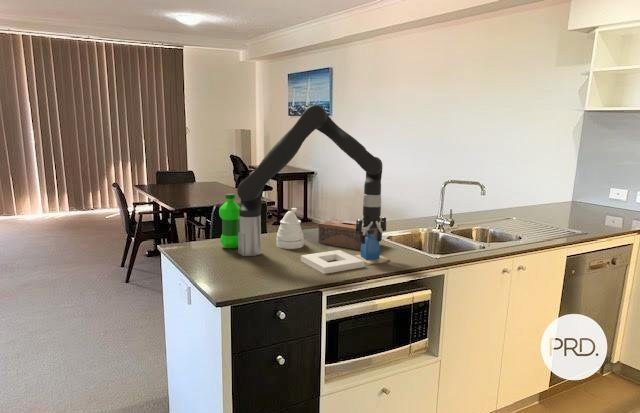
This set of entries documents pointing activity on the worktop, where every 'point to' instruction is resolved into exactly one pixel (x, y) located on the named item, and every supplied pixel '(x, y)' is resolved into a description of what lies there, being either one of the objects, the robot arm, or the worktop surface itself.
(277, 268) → the worktop surface
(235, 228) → the plastic bottle
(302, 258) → the socket block
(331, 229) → the tissue box cover
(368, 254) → the perfume bottle
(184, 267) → the worktop surface
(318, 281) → the worktop surface
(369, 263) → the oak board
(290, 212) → the honey pot
